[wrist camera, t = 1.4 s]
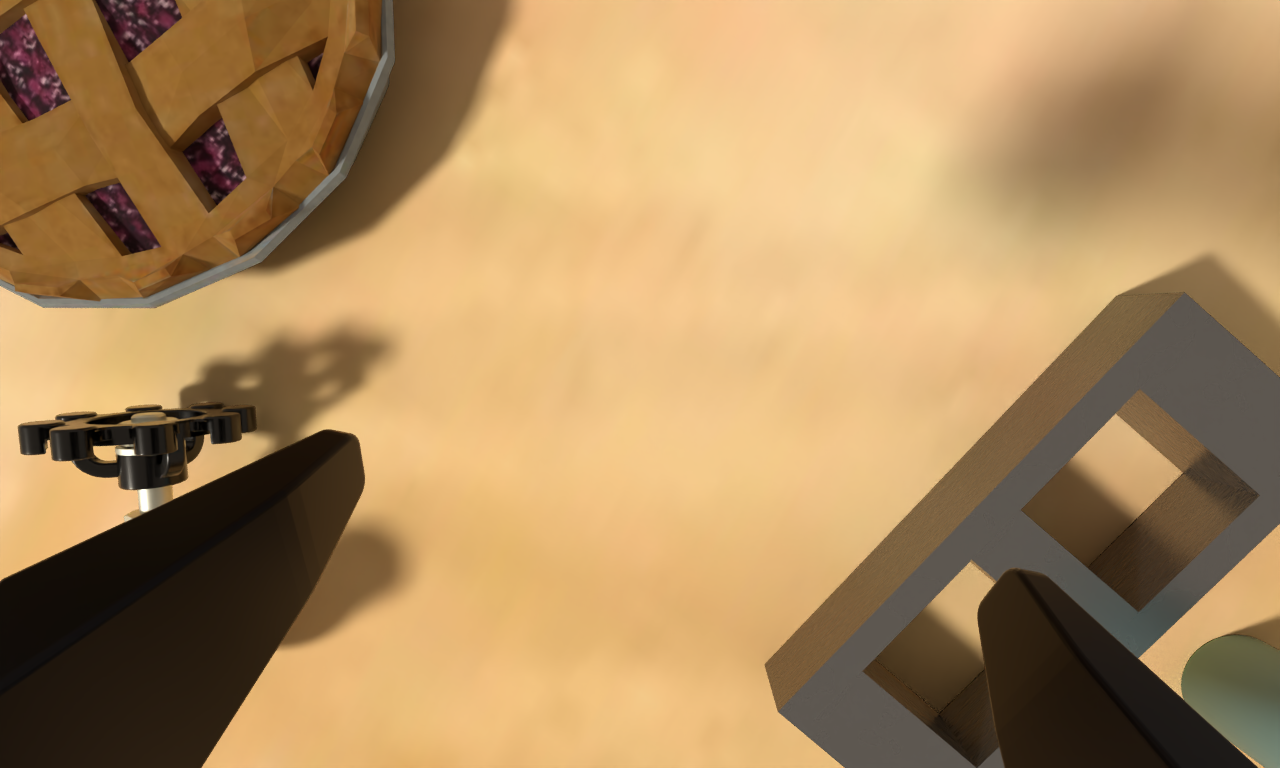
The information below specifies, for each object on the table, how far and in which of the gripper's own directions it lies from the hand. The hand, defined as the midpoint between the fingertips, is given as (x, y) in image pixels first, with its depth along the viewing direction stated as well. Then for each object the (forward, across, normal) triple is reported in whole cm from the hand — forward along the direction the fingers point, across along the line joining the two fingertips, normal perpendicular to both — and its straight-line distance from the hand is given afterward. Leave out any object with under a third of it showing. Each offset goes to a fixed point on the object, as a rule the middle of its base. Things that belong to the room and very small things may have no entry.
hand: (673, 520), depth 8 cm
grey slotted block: (+12, -15, +11) cm, 22 cm away
